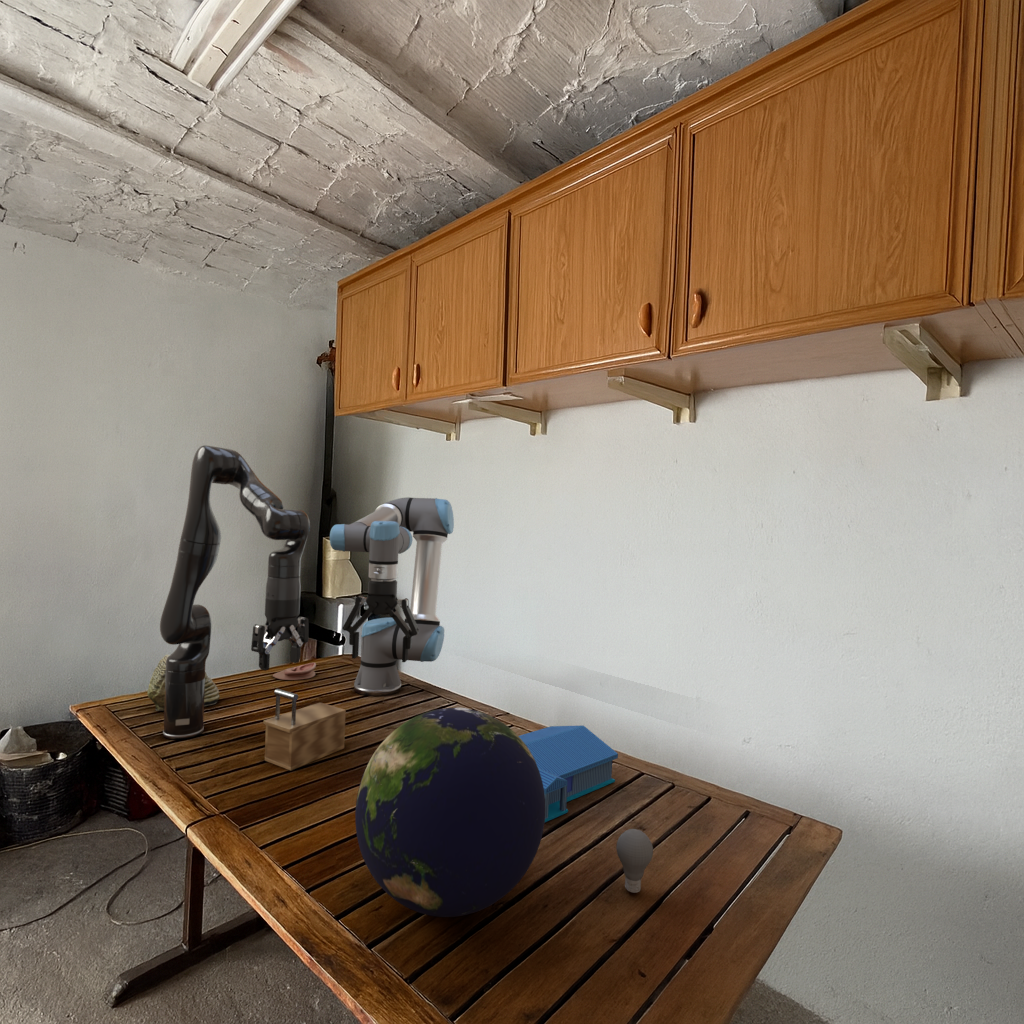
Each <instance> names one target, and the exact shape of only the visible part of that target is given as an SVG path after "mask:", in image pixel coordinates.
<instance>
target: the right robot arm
mask: <svg viewBox="0 0 1024 1024" xmlns="http://www.w3.org/2000/svg"><path fill="white" fill-rule="evenodd" d="M454 520H455V519H454V510H453V507H452V504H451V502H450V501H449V500H448V499H443V498H437V497H434V498H431V497H409V496H407V497H400V498H396V499H393V500H389V501H386V502H383V503H382V504H380V505H379V506H377V507H376V508H375V510H374V511H373V512H370V513H369V514H368V515H366V516H363V517H362V518H359V519H358V520H356V521H354V522H351V523H350V524H347V523H346V524H345V523H341V524H337V523H336V524H334V525H332V527H331V529H330V532H329V544H330V547H331V549H332V550H334V551H339V552H351V553H369V555H368V557H369V560H368V578H369V580H368V582H367V597H365V596H363V595H359V596H356V597H355V601H354V606H353V608H352V609H351V611H350V613H349V615H348V617H347V619H346V621H345V622H344V624H343V626H342V630H343V631H346V632H348V634H349V638H348V642H349V646H352V647H351V648H352V649H351V659H353V660H355V659H356V658H358V657H359V647H360V666H359V669H358V672H357V674H356V678H355V680H354V683H353V691H354V692H355V693H357V694H359V695H363V696H371V697H384V696H390V695H393V694H396V693H399V692H400V691H401V690H402V681H401V677H400V674H399V673H400V672H399V670H398V667H397V662H398V661H397V660H399V661H400V660H401V663H406V662H408V661H412V662H413V661H414V662H419V663H421V662H422V663H425V662H429V663H432V662H435V661H437V659H438V658H439V657H440V655H441V652H442V649H443V646H444V645H443V644H444V639H445V627H444V626H443V625H441V620H440V619H439V617H438V616H437V608H438V607H437V605H438V597H439V596H438V595H439V585H440V573H441V565H442V564H441V563H442V552H443V544H444V543H445V542H446V541H447V540H448V536H449V535H451V534H453V532H454V528H455V521H454ZM413 539H414V540H415V541H416V545H415V546H416V547H415V557H414V567H413V578H412V588H411V597H410V601H409V599H408V598H403V599H402V598H401V599H398V581H397V580H396V579H398V574H399V573H398V571H399V555H400V554H401V555H402V554H403V553H405V552H406V551H408V550H409V549H410V548H411V546H412V544H413ZM409 602H410V603H409ZM365 603H366V605H367V606H368V608H367V609H366V611H364V613H363V614H362V615H361V616H360V617H359V618H358V620H357V621H356V622H355V623H354V621H355V619H356V617H357V615H358V614H359V612H360V610H361V609H362V607H363V606H364V605H365ZM398 605H399V607H400V609H401V610H402V612H403V615H404V618H403V617H402V616H401V615H400V613H399V611H398V610H397V608H396V607H397V606H398ZM372 614H373V615H375V616H379V615H382V616H388V615H389V617H381V618H380V617H379V618H374V619H371V620H367V619H369V617H370V616H371V615H372ZM353 623H354V624H353ZM361 627H362V628H361ZM359 628H361V635H360V631H357V630H359ZM360 638H361V641H360ZM360 643H361V644H360Z"/></svg>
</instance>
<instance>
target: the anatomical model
mask: <svg viewBox="0 0 1024 1024" xmlns="http://www.w3.org/2000/svg"><path fill="white" fill-rule="evenodd" d="M316 667H317V663H316V662H309V663H305V664H302V665H298V666H292V667H289V668H286V669H284V670H281V671H278V672H275V673H274V674H272V677H273V678H275V679H277V680H281V681H282V680H283V681H293V680H294V681H298V680H307V679H311V678H313V677H315V676H316V671H314V670H315V669H316Z"/></svg>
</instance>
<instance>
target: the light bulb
mask: <svg viewBox="0 0 1024 1024" xmlns="http://www.w3.org/2000/svg"><path fill="white" fill-rule="evenodd" d="M615 849H616V854H617V857H618V859H619V861H620V863H621V865H622V867H623V873H624V874H623V875H624V876H625V878H624V888H625V890H627V891H628V892H630V893H634V894H635V893H639V892H640V891H641V889H642V887H641V886H642V879H643V877H644V875H645V871H646V868H647V867H648V866H649V864H650V863H651V861H652V859H653V855H654V847H653V843H652V841H651V838H649V836H648V835H647V834H646V833H645V832H643V831H642V830H641V829H636V828H629V829H627V830H625V831H623V832H622V833H621V834H620V835H619V837H618V839H617V841H616V847H615Z"/></svg>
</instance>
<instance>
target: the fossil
mask: <svg viewBox="0 0 1024 1024" xmlns="http://www.w3.org/2000/svg"><path fill="white" fill-rule="evenodd" d="M170 655H171V654H165V655H164V656H163V657H162V658H161V659H160V660H159V662H158V663H157V666H156V667H155V669H154V670H153V672H152V675H151V677H150V680H149V684H148V688H147V697H148V699H149V700H150V701H152V703H153V704H154V706H155V711H158V712H159V711H162V712H163V711H164V705H165V674H166V660H167V658H168V657H169V656H170ZM220 698H221V696H220V690H219V688H218V686H217V685H216V683H215V682H214V681H213V679H212V678H211V677H209V675H208V674H207V672H206V671H205V693H204V707H207V706H213V705H215V704H217V703H218V701H219V699H220Z"/></svg>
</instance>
